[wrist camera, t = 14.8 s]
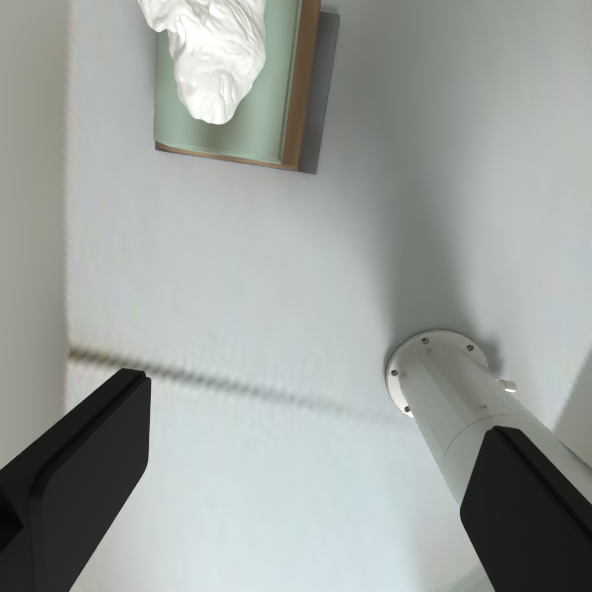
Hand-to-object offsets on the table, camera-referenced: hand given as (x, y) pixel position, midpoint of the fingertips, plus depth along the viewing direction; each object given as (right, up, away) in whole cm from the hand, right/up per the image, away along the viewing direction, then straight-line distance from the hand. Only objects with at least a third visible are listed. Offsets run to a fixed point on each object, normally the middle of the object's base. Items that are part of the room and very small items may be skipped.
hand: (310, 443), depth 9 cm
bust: (-6, +24, +19) cm, 31 cm away
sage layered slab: (-6, +26, +27) cm, 38 cm away
